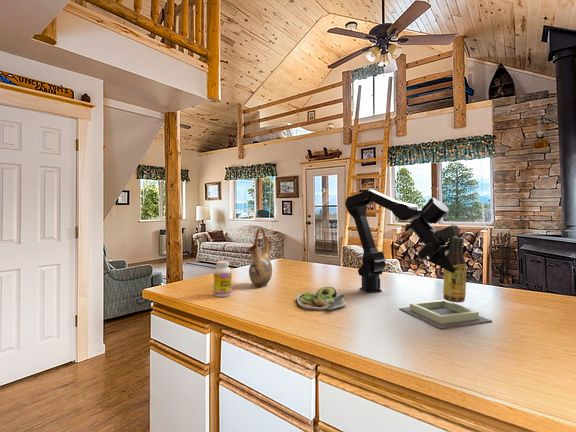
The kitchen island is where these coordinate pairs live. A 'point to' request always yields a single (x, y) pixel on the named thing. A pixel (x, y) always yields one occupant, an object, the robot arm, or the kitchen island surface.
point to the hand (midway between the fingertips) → (459, 270)
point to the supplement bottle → (222, 279)
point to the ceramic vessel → (260, 262)
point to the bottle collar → (462, 314)
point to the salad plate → (322, 299)
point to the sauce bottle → (455, 281)
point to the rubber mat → (443, 312)
